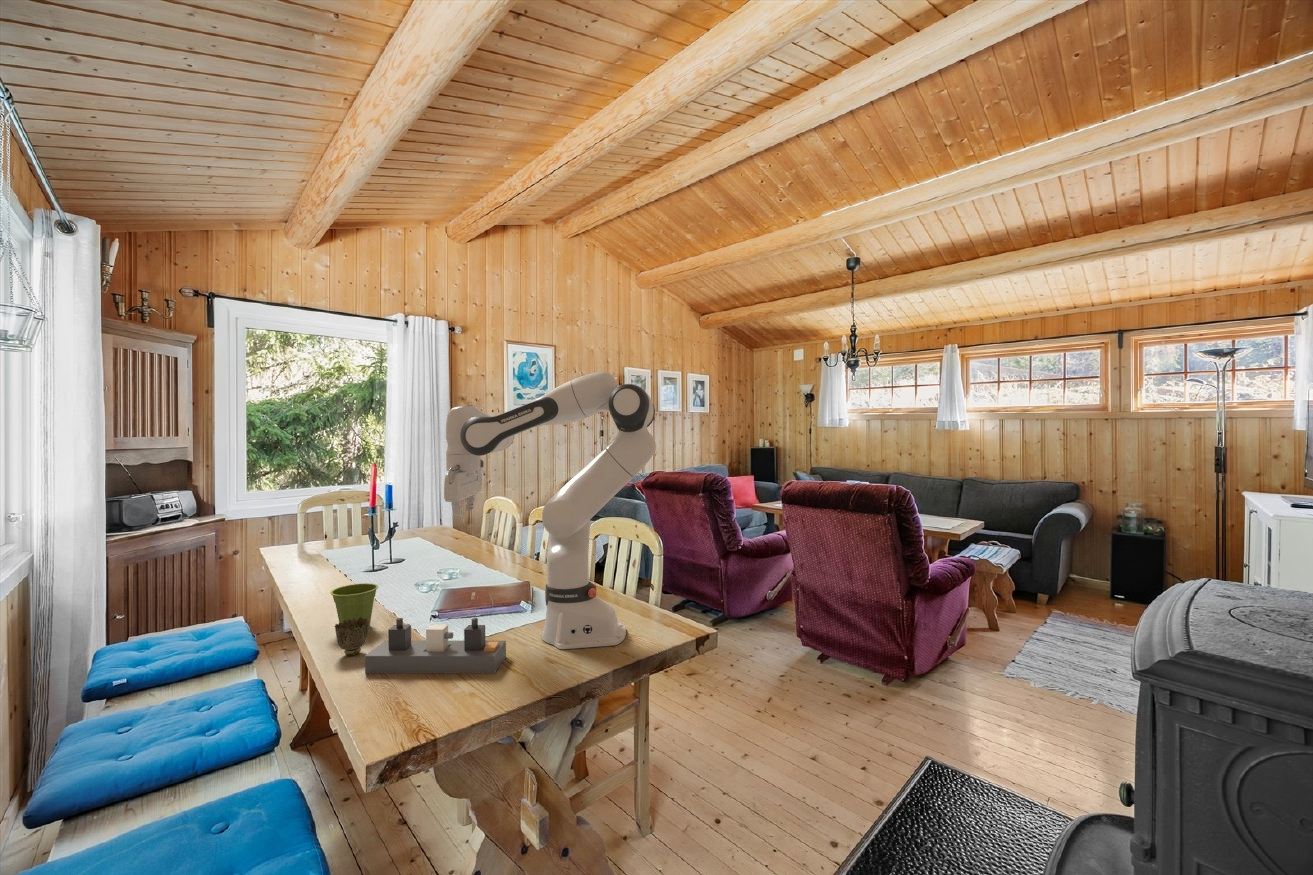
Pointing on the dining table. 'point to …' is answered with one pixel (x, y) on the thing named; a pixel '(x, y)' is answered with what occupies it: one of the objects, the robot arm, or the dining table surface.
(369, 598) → the plant pot
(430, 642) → the plug
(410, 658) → the power strip
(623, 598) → the dining table surface
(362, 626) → the cup
